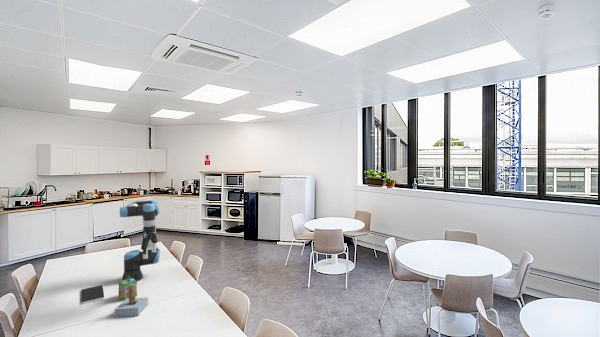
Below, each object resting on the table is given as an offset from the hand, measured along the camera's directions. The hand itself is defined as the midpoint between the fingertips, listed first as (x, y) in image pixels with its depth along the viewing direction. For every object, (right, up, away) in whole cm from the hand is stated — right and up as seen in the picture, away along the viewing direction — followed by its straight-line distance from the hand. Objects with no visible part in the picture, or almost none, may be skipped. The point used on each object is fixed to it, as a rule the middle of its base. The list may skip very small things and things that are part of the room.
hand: (149, 255), depth 201 cm
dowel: (-3, -31, -17) cm, 35 cm away
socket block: (-3, -31, -17) cm, 35 cm away
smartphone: (-46, -32, +7) cm, 56 cm away
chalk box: (-18, -31, +3) cm, 36 cm away
